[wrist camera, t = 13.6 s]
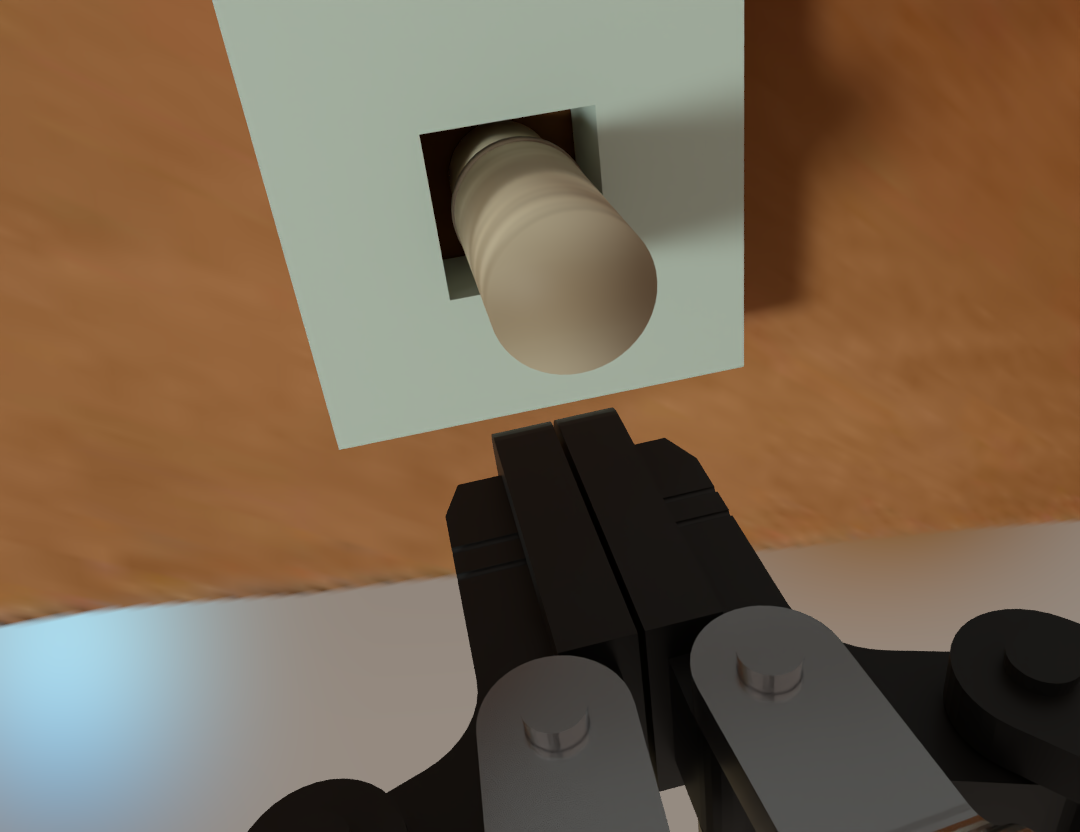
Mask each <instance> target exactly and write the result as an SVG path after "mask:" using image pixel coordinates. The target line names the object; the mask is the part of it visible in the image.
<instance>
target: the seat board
mask: <svg viewBox="0 0 1080 832" xmlns="http://www.w3.org/2000/svg"><path fill="white" fill-rule="evenodd" d="M212 1H213V5H214V8H215V12H216V15H217V19H218V22H219V26H220V29H221V33H222V37H223V40H224V44H225V47H226V51H227V54H228V58H229V61H230V65H231V68H232V72H233V75H234V79H235V82H236V86H237V90H238V93H239V97H240V100H241V104H242V107H243V111H244V114H245V118H246V121H247V125H248V128H249V132H250V136H251V139H252V143H253V146H254V150H255V153H256V157H257V160H258V164H259V167H260V171H261V174H262V178H263V182H264V185H265V189H266V192H267V196H268V199H269V203H270V206H271V210H272V213H273V217H274V220H275V224H276V228H277V231H278V235H279V238H280V242H281V245H282V249H283V252H284V256H285V259H286V263H287V266H288V270H289V274H290V277H291V281H292V284H293V288H294V291H295V295H296V298H297V302H298V305H299V309H300V312H301V316H302V320H303V323H304V327H305V330H306V334H307V337H308V341H309V344H310V348H311V351H312V355H313V358H314V362H315V366H316V369H317V373H318V376H319V380H320V383H321V387H322V390H323V394H324V397H325V401H326V404H327V408H328V412H329V415H330V419H331V422H332V426H333V429H334V433H335V436H336V440H337V443H338V447H339V450H341V449H345V448H350V447H355V446H360V445H365V444H370V443H375V442H379V441H384V440H389V439H394V438H399V437H404V436H409V435H413V434H418V433H423V432H428V431H433V430H438V429H443V428H447V427H452V426H457V425H462V424H467V423H472V422H477V421H481V420H486V419H491V418H496V417H501V416H506V415H511V414H515V413H520V412H525V411H530V410H535V409H540V408H545V407H549V406H554V405H559V404H564V403H569V402H574V401H579V400H583V399H588V398H593V397H598V396H603V395H608V394H613V393H618V392H622V391H627V390H632V389H637V388H642V387H647V386H652V385H656V384H661V383H666V382H671V381H676V380H681V379H686V378H690V377H695V376H700V375H705V374H710V373H715V372H720V371H724V370H729V369H734V368H739V367H744V0H212ZM567 109H571V118H572V128H573V139H574V149H575V159H576V163H577V165H578V166H579V167H580V169H581V171H582V172H583V174H584V175H585V176H586V177H587V178H588V179H589V180H590V182H591V183H592V184H593V185H594V186H595V187H596V188H597V190H598V191H599V192H600V193H601V194H602V195H603V196H604V197H605V199H606V200H607V201H608V202H609V203H610V204H611V205H612V207H613V208H614V209H615V210H616V211H617V212H618V213H619V215H620V216H621V217H622V218H623V219H624V220H625V221H626V222H627V224H628V225H629V226H630V227H631V228H632V229H633V230H634V232H635V233H636V234H637V235H638V236H639V237H640V239H641V240H642V241H643V242H644V244H645V245H646V247H647V248H648V250H649V252H650V254H651V256H652V259H653V261H654V265H655V269H656V274H657V296H656V303H655V306H654V310H653V313H652V315H651V318H650V320H649V322H648V324H647V326H646V327H645V329H644V331H643V332H642V334H641V335H640V336H639V338H638V339H637V340H636V342H635V343H634V344H633V345H632V346H631V347H630V348H629V349H628V350H627V351H625V352H624V353H623V354H622V355H621V356H619V357H618V358H616V359H615V360H613V361H612V362H610V363H608V364H606V365H604V366H602V367H599V368H597V369H594V370H591V371H587V372H584V373H578V374H571V375H558V374H549V373H545V372H541V371H538V370H535V369H532V368H530V367H528V366H526V365H524V364H522V363H521V362H519V361H518V360H516V359H515V358H514V357H513V356H511V355H510V354H509V353H508V352H507V351H506V350H505V348H504V347H503V346H502V345H501V343H500V342H499V340H498V338H497V337H496V335H495V333H494V331H493V328H492V326H491V323H490V320H489V317H488V315H487V312H486V309H485V306H484V304H483V301H482V298H481V295H480V293H479V290H478V287H477V284H476V282H475V279H474V276H473V274H472V271H471V268H470V265H469V263H468V260H467V257H466V256H461V257H456V258H450V259H445V260H442V255H441V249H440V244H439V239H438V233H437V228H436V222H435V217H434V212H433V206H432V201H431V195H430V190H429V185H428V179H427V174H426V169H425V163H424V158H423V152H422V147H421V142H420V136H419V135H420V134H426V133H432V132H438V131H443V130H449V129H455V128H461V127H467V126H473V125H479V124H485V123H490V122H496V121H502V120H508V119H514V118H520V117H526V116H532V115H538V114H543V113H549V112H555V111H561V110H567Z"/></svg>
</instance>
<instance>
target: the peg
mask: <svg viewBox="0 0 1080 832" xmlns="http://www.w3.org/2000/svg"><path fill="white" fill-rule="evenodd" d="M449 185H450V189H451V192H452V200H451V214H452V221H453V225H454V228H455V231H456V234H457V236H458V239H459V241H460V243H461V245H462V247H463V249H464V252H465V254H466V257H467V260H468V263H469V265H470V268H471V271H472V274H473V276H474V279H475V282H476V284H477V287H478V290H479V293H480V295H481V298H482V301H483V304H484V306H485V309H486V312H487V315H488V317H489V320H490V323H491V326H492V328H493V331H494V333H495V335H496V337H497V338H498V340H499V342H500V343H501V345H502V346H503V347H504V348H505V350H506V351H507V352H508V353H509V354H510V355H511V356H513V357H514V358H515V359H516V360H518V361H519V362H521V363H522V364H524V365H526V366H528V367H530V368H532V369H535V370H538V371H541V372H545V373H549V374H558V375H571V374H578V373H584V372H587V371H591V370H594V369H597V368H599V367H602V366H604V365H606V364H608V363H610V362H612V361H613V360H615V359H616V358H618V357H619V356H621V355H622V354H623V353H624V352H625V351H627V350H628V349H629V348H630V347H631V346H632V345H633V344H634V343H635V342H636V340H637V339H638V338H639V336H640V335H641V334H642V332H643V331H644V329H645V327H646V326H647V324H648V322H649V320H650V318H651V315H652V313H653V310H654V306H655V303H656V296H657V274H656V269H655V265H654V261H653V259H652V256H651V254H650V252H649V250H648V248H647V247H646V245H645V244H644V242H643V241H642V240H641V239H640V237H639V236H638V235H637V234H636V233H635V232H634V230H633V229H632V228H631V227H630V226H629V225H628V224H627V222H626V221H625V220H624V219H623V218H622V217H621V216H620V215H619V213H618V212H617V211H616V210H615V209H614V208H613V207H612V205H611V204H610V203H609V202H608V201H607V200H606V199H605V197H604V196H603V195H602V194H601V193H600V192H599V191H598V190H597V188H596V187H595V186H594V185H593V184H592V183H591V182H590V180H589V179H588V178H587V177H586V176H585V175H584V174H583V172H582V171H581V169H580V167H579V166H578V165H577V163H576V162H575V161H574V160H573V159H572V158H571V156H570V155H569V154H567V153H566V152H565V151H564V150H563V149H561V148H560V147H558V146H557V145H555V144H553V143H551V142H549V141H547V140H544V139H542V138H541V137H540V136H539V135H538V134H537V133H536V132H535V131H533V130H532V129H530V128H529V127H527V126H525V125H523V124H521V123H517V122H514V121H508V120H502V121H496V122H490V123H485V124H482V125H480V126H478V127H476V128H474V129H473V130H471V131H470V132H469V133H468V134H467V135H465V136H464V137H463V138H462V140H461V141H460V142H459V143H458V145H457V147H456V148H455V150H454V152H453V155H452V157H451V161H450V165H449Z"/></svg>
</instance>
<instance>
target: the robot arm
mask: <svg viewBox="0 0 1080 832" xmlns="http://www.w3.org/2000/svg"><path fill="white" fill-rule="evenodd" d="M492 443H493V449H494V454H495V460H496V465H497V470H498V475H499V476H496V477H491V478H487V479H482V480H478V481H474V482H469V483H465V484H460V485H458V486H457V489H456V491H455V494H454V496H453V499H452V501H451V504H450V506H449V509H448V511H447V514H446V521H447V527H448V532H449V537H450V542H451V548H452V552H453V558H454V564H455V569H456V574H457V579H458V585H459V590H460V595H461V600H462V606H463V610H464V616H465V621H466V627H467V632H468V637H469V642H470V647H471V652H472V658H473V663H474V669H475V674H476V679H477V689H478V695H477V704H476V708H475V712H474V715H473V718H472V720H471V722H470V724H469V726H468V728H467V730H466V731H465V733H464V734H463V736H462V737H461V739H460V740H459V741H458V742H457V744H456V745H455V746H454V747H453V748H452V750H451V751H449V752H448V753H447V754H446V755H445V756H444V757H443V758H441V759H440V760H439V761H438V762H437V763H436V764H434V765H432V766H431V767H429V768H428V769H426V770H425V771H423V772H422V773H420V774H418V775H416V776H415V777H413V778H411V779H410V780H408V781H406V782H404V783H403V784H401V785H399V786H398V787H396V788H394V789H393V790H391V791H389V792H388V793H385V792H384V791H383V790H382V789H380V788H377V787H376V786H374V785H372V784H370V783H366V782H363V781H359V780H353V779H330V780H325V781H321V782H316V783H313V784H311V785H308V786H305V787H302V788H300V789H298V790H296V791H294V792H292V793H290V794H288V795H287V796H286V797H284V798H282V799H281V800H280V801H278V802H277V803H275V804H274V805H273V806H272V807H270V809H268V810H267V811H266V812H265V813H264V814H263V815H262V816H261V817H260V818H259V819H258V820H257V821H256V822H255V824H254V825H253V826H252V827H251V828H250V829H249V831H248V832H670V830H669V826H668V823H667V819H666V815H665V811H664V808H663V804H662V801H661V797H660V793H659V791H664V790H667V789H671V788H675V787H678V786H682V785H685V786H686V789H687V792H688V795H689V797H690V800H691V802H692V805H693V807H694V810H695V812H696V815H697V817H698V829H699V832H1080V624H1079V623H1076V622H1073V621H1071V620H1068V619H1065V618H1062V617H1059V616H1056V615H1052V614H1049V613H1044V612H1039V611H1035V610H1023V609H1005V610H998V611H992V612H988V613H985V614H982V615H979V616H977V617H975V618H974V619H971V620H970V621H968V622H967V623H966V624H965V625H964V626H962V627H961V628H960V630H959V631H958V632H957V634H956V635H955V637H954V639H953V642H952V644H951V650H950V652H936V651H932V652H931V651H890V650H875V649H867V648H861V647H856V646H852V645H849V644H846V643H842V642H841V640H840V639H839V638H838V637H837V636H836V635H835V634H834V633H833V632H832V630H830V629H829V628H828V627H826V626H825V625H824V624H823V623H821V622H819V621H818V620H816V619H814V618H812V617H811V616H808V615H806V614H804V613H801V612H798V611H795V610H792V609H791V608H790V606H789V605H788V604H787V602H786V601H785V599H784V597H783V596H782V594H781V593H780V591H779V589H778V588H777V586H776V585H775V583H774V582H773V580H772V578H771V577H770V575H769V573H768V572H767V570H766V569H765V567H764V565H763V564H762V562H761V561H760V559H759V557H758V556H757V554H756V553H755V551H754V549H753V548H752V546H751V545H750V543H749V541H748V540H747V538H746V537H745V535H744V533H743V532H742V530H741V529H740V527H739V525H738V524H737V522H736V521H735V519H734V517H733V516H730V514H729V509H728V508H727V506H726V505H725V503H724V501H723V500H722V498H721V497H720V495H719V493H718V492H715V489H714V485H713V484H712V482H711V481H710V479H709V477H708V476H707V474H706V473H705V471H704V469H703V468H702V466H701V465H700V463H699V461H698V460H697V458H695V457H694V456H692V455H691V454H689V453H688V452H686V451H685V450H683V449H681V448H680V447H678V446H677V445H675V444H674V443H672V442H670V441H669V440H667V439H666V438H662V439H658V440H653V441H649V442H644V443H640V444H636V445H634V443H633V441H632V439H631V438H630V436H629V434H628V432H627V430H626V428H625V426H624V424H623V423H622V421H621V419H620V417H619V415H618V413H617V412H616V410H615V409H614V408H608V409H603V410H599V411H594V412H590V413H585V414H581V415H576V416H572V417H567V418H563V419H558V420H554V427H553V425H552V423H551V422H546V423H541V424H537V425H532V426H528V427H523V428H519V429H514V430H510V431H505V432H501V433H496V434H492Z"/></svg>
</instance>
